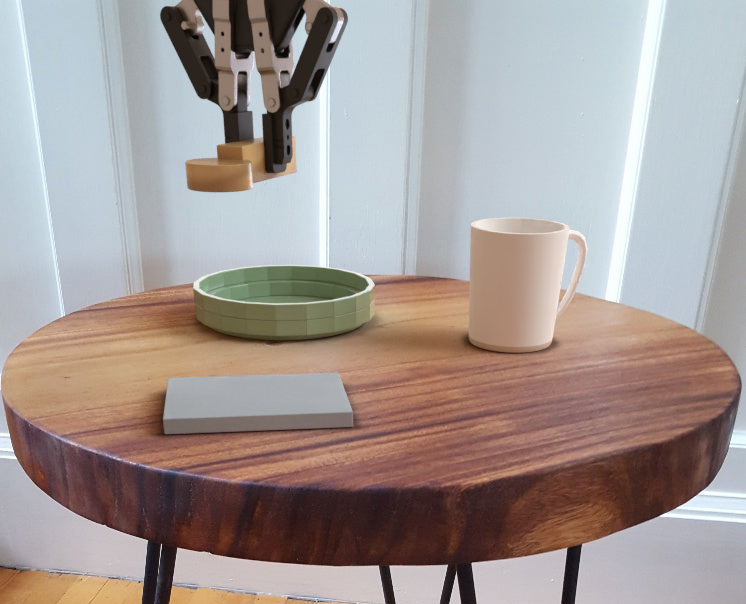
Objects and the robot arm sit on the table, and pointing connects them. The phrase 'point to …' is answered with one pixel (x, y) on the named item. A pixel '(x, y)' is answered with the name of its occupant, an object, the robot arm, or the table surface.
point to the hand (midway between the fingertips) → (260, 170)
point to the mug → (519, 281)
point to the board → (256, 403)
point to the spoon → (233, 167)
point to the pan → (284, 301)
